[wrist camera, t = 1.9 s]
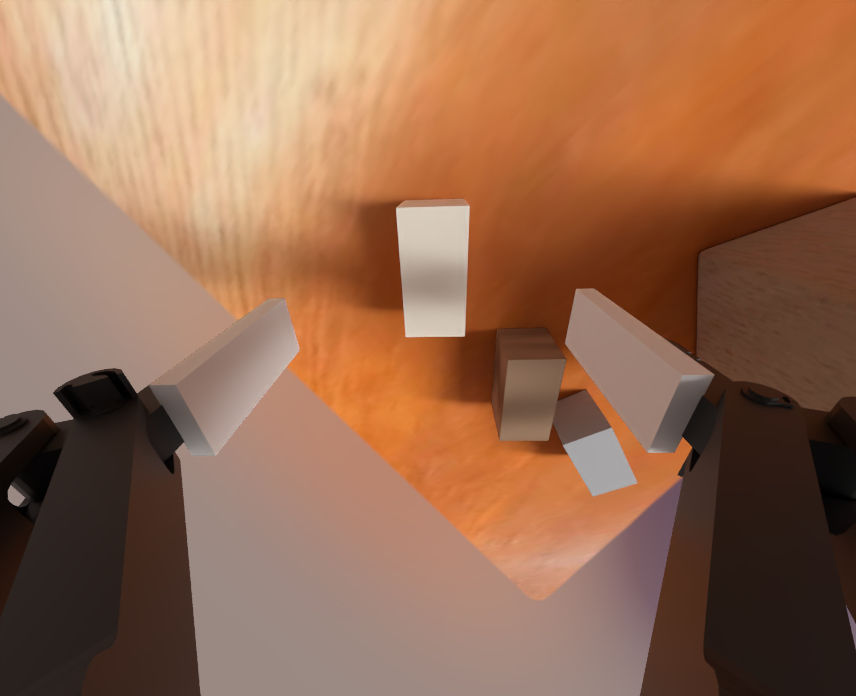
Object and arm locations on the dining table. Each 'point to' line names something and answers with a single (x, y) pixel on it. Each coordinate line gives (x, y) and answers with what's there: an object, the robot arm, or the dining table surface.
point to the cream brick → (434, 265)
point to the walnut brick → (526, 383)
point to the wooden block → (784, 307)
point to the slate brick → (591, 444)
